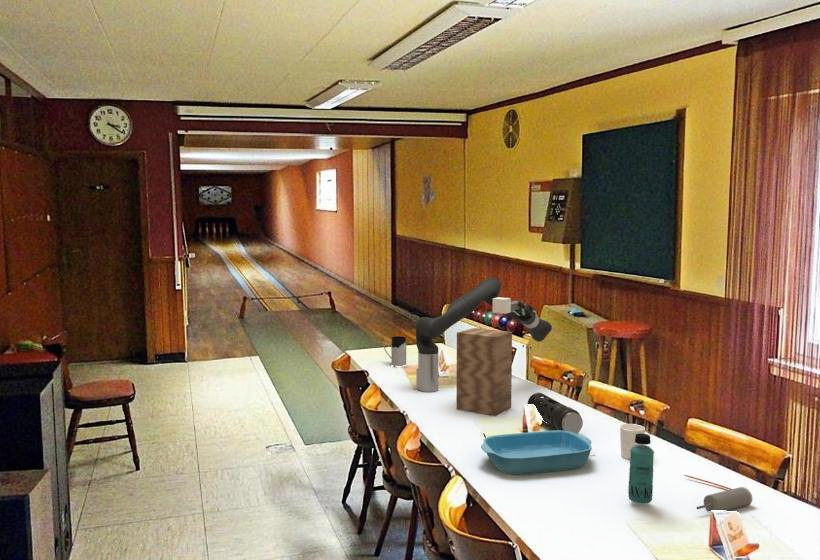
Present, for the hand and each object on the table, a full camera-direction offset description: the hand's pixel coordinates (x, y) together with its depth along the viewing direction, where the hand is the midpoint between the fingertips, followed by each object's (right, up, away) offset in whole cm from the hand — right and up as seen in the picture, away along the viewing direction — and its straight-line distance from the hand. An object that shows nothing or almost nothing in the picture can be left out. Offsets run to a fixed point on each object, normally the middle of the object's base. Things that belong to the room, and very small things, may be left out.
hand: (514, 302), depth 309 cm
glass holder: (-54, -35, +65) cm, 91 cm away
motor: (+38, -53, -107) cm, 125 cm away
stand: (-15, -43, -18) cm, 49 cm away
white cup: (+28, -49, -74) cm, 93 cm away
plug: (-3, -3, -3) cm, 5 cm away
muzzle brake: (+9, -46, -43) cm, 63 cm away
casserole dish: (-4, -50, -80) cm, 94 cm away
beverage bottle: (+19, -53, -112) cm, 126 cm away
